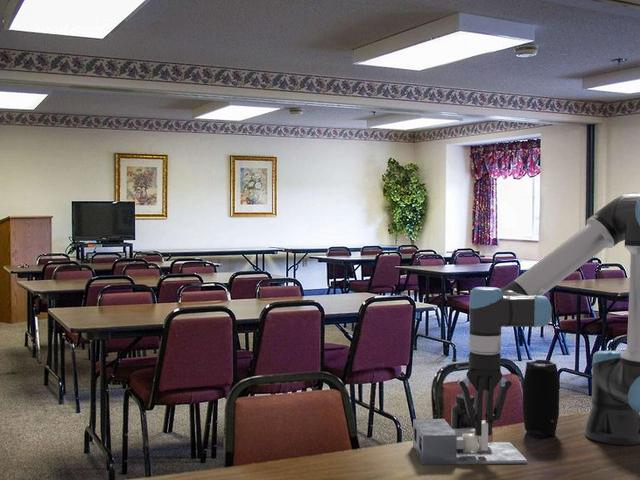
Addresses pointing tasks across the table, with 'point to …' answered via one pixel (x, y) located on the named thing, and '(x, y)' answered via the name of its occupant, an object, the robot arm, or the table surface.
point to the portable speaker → (541, 398)
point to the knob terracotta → (469, 431)
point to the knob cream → (468, 442)
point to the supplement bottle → (461, 414)
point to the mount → (441, 446)
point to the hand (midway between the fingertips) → (483, 448)
